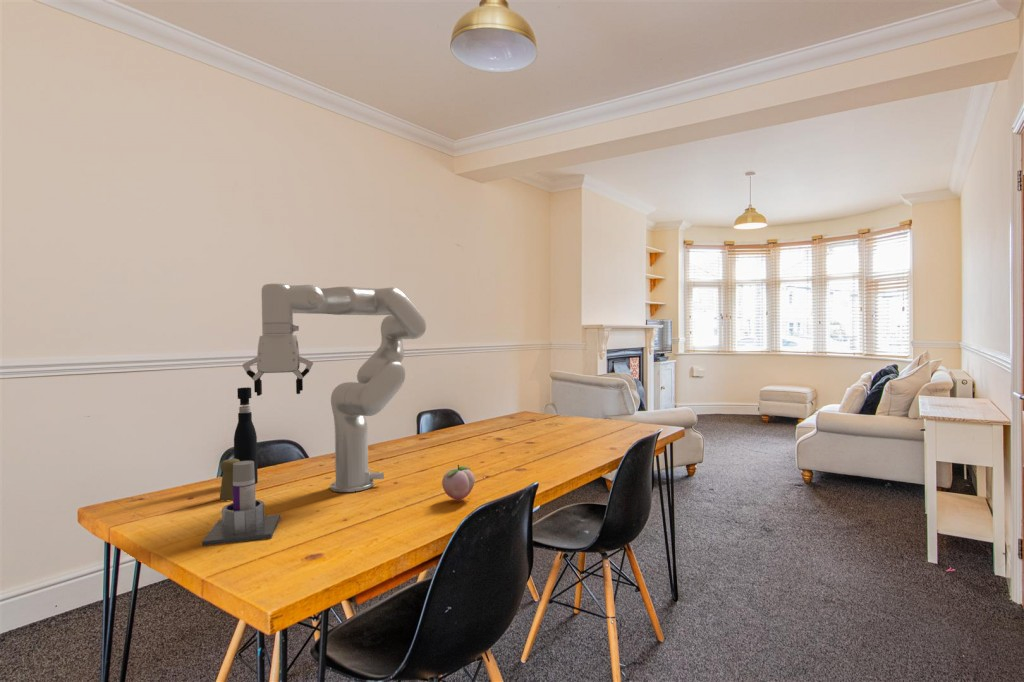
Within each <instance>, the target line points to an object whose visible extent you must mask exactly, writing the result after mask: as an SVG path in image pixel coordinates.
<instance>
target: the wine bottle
mask: <svg viewBox="0 0 1024 682" xmlns="http://www.w3.org/2000/svg"><path fill="white" fill-rule="evenodd" d="M238 399H239V408H238V410H239V411H238V412H237V419H238V421H237V424H236V428H235V431H234V435H233V459H238V460H240V461H254V471H255V485H256V484H258V482H259V481H258V479H259V478H258V438H257V437H258V436H257V431H256V428H255V425H254V423H253V421H252V419H253V418H252V412H251V406H250V399H252V387H249V386H248V387H238V388H237V400H238Z"/></svg>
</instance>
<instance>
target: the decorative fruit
mask: <svg viewBox="0 0 1024 682" xmlns="http://www.w3.org/2000/svg"><path fill="white" fill-rule="evenodd" d="M475 482H476V478H475V475H474V474H473V473H472V471H471V468H470V467H469V466H465V465H459V464H457V467H455V468H452V469H449V470H447V472H445V474H444V475H443V477H442V481H441V486H442V489H443V491H444V492H445V494H446V495H447V496H448V497H449V498H451V499H452V500H454V501H458V502H460V501H462V500H464V499H465V498H467V496H469V495H470V493H471V492H472V490H473V488H474V486H475Z"/></svg>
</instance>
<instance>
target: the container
mask: <svg viewBox="0 0 1024 682" xmlns="http://www.w3.org/2000/svg"><path fill="white" fill-rule="evenodd" d="M255 500H256V484H255V471H254V461H240V462H236V463H233V501H232V503H233V510H234V511H237V510H246V509H250V508H254V507H256V505H255Z"/></svg>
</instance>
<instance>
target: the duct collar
mask: <svg viewBox="0 0 1024 682" xmlns="http://www.w3.org/2000/svg"><path fill="white" fill-rule="evenodd" d="M255 505H256V507H254V508H250V509H246V510H237V511H234V510H233V502H231V503H229V504H228V503H227V504H226V505H223V507H222V508H221V519H218V520H217V521H216V523H215V524H214V525H213V527H211V529H210V531H208V533H207V534H206V535H205V537H204V538H203V539H202V541H201V546H202V547H205V546H204V545H206V546H214V545H222V544H231V543H239V542H240V541H242V542H250V541H259V540H268V539H269V540H270V539H272V538H273V536H274V533H275V531H276V529H277V527H278V524H279V523H280V520H281V513H279V514H267V515H266V514H265V501H263V500H260V499H255ZM240 543H241V542H240Z"/></svg>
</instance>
